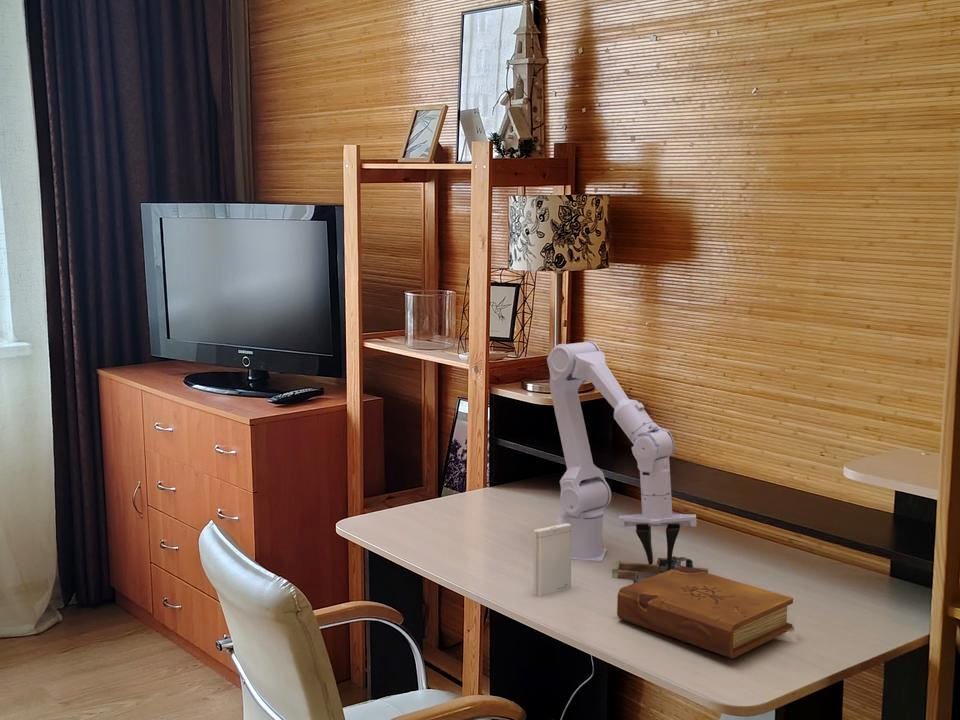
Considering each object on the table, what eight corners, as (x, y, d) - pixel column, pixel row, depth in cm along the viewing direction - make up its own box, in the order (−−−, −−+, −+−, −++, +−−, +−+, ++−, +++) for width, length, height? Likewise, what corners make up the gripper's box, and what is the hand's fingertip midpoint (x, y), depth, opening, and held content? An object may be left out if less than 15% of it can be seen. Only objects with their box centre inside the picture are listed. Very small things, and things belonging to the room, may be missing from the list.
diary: (616, 621, 184) (617, 589, 183) (681, 595, 197) (681, 565, 196) (729, 660, 167) (730, 625, 167) (792, 629, 180) (793, 596, 179)
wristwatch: (665, 581, 205) (665, 557, 204) (688, 577, 207) (688, 553, 206) (673, 587, 202) (674, 562, 201) (696, 583, 204) (697, 558, 203)
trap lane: (609, 586, 200) (609, 576, 200) (618, 562, 215) (618, 552, 214) (706, 594, 196) (706, 583, 196) (708, 568, 210) (709, 558, 210)
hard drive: (572, 589, 199) (572, 524, 197) (537, 597, 194) (538, 532, 193) (566, 586, 200) (567, 522, 199) (532, 595, 195) (532, 530, 194)
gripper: (615, 498, 201) (619, 568, 201) (693, 496, 197) (697, 568, 198) (620, 490, 207) (624, 558, 208) (695, 489, 204) (698, 558, 205)
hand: (659, 563), depth 203 cm, fingers open, 3 cm apart
